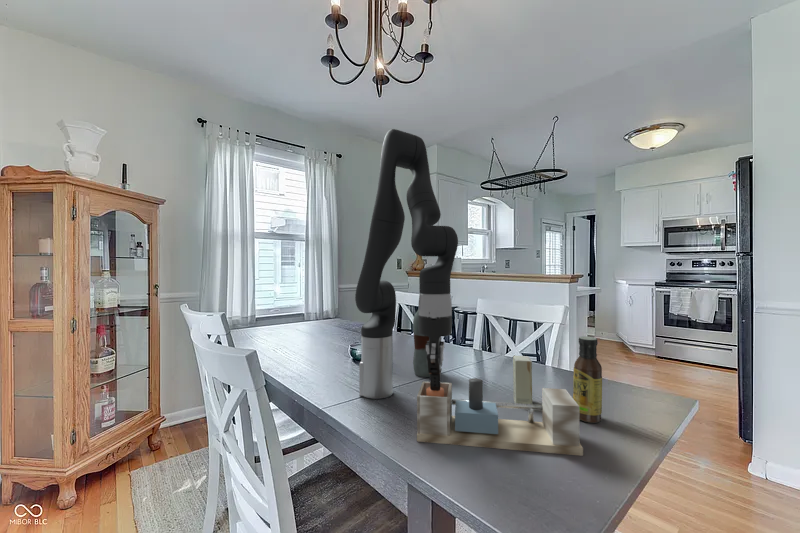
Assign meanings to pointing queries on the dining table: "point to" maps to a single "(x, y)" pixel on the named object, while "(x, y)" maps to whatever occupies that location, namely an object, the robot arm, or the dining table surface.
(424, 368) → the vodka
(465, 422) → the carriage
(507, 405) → the handrail
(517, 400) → the skincare box
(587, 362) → the sauce bottle
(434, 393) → the button
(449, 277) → the robot arm
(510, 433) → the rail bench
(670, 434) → the dining table surface
